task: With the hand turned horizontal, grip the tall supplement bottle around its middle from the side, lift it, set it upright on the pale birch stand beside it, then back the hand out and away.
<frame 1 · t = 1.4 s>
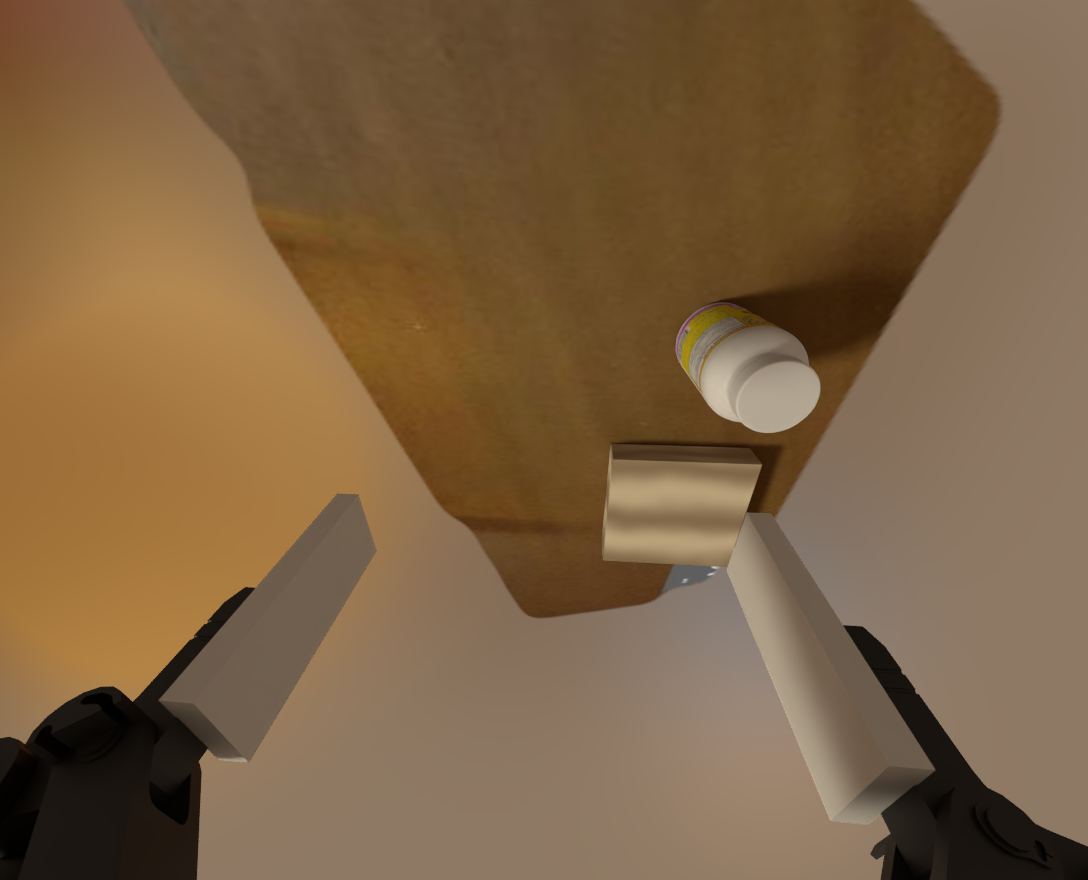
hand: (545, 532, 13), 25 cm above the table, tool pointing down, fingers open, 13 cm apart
supplement bottle: (711, 338, 34), on the table
birch stand: (668, 499, 43), on the table
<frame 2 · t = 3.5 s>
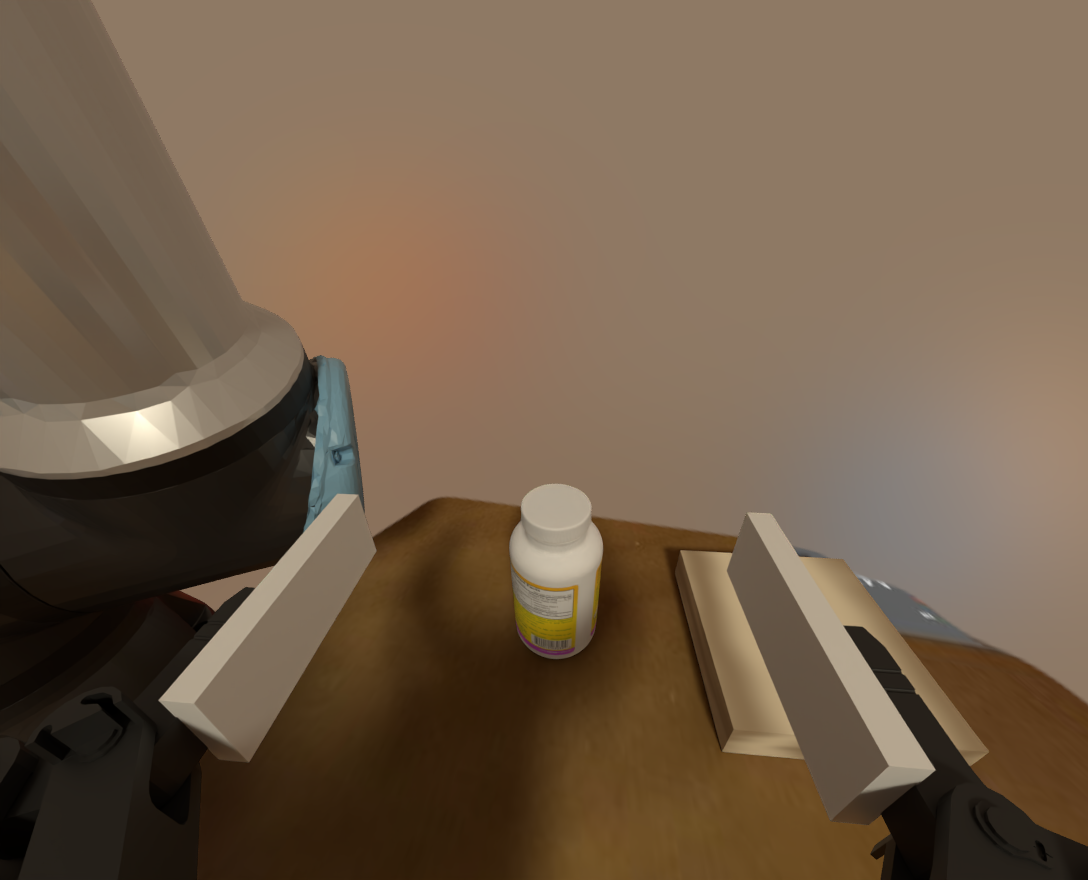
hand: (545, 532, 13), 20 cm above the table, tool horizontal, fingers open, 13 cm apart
supplement bottle: (555, 624, 32), on the table
birch stand: (786, 651, 30), on the table
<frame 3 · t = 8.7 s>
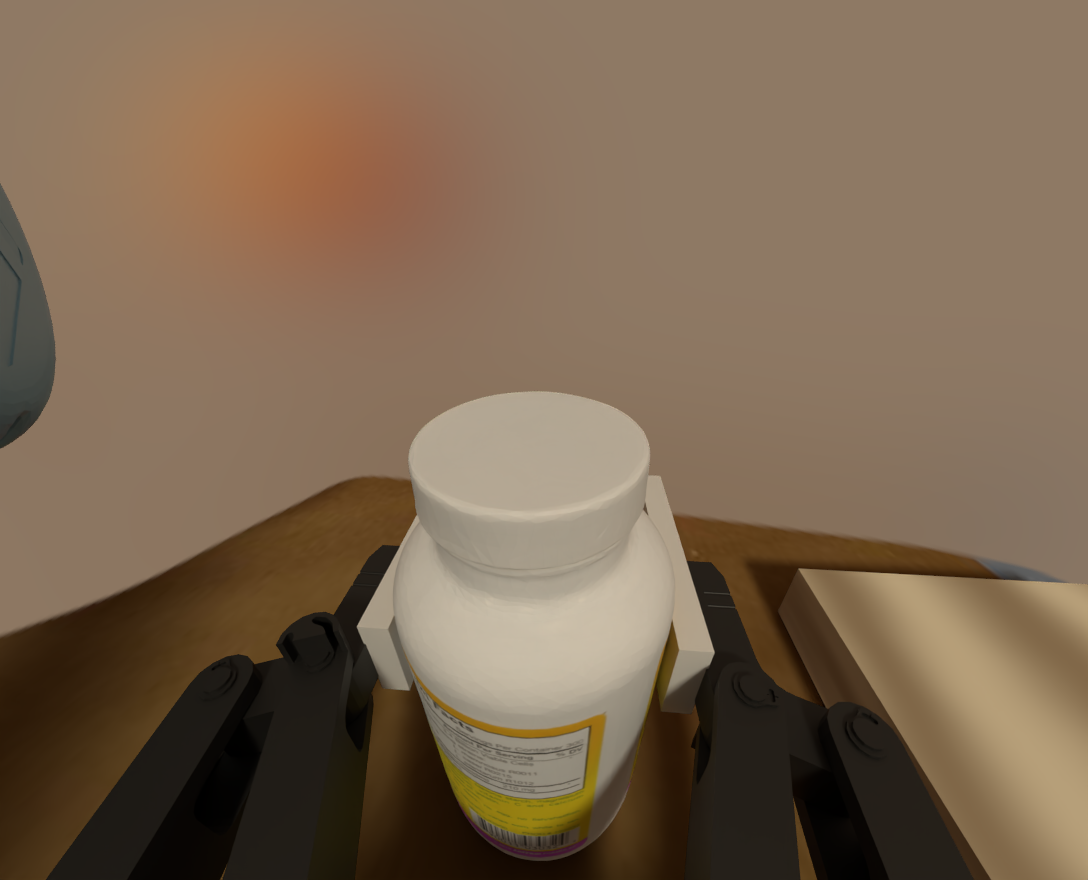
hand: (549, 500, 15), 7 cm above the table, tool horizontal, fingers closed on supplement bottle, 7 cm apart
supplement bottle: (540, 739, 14), on the table, touching gripper
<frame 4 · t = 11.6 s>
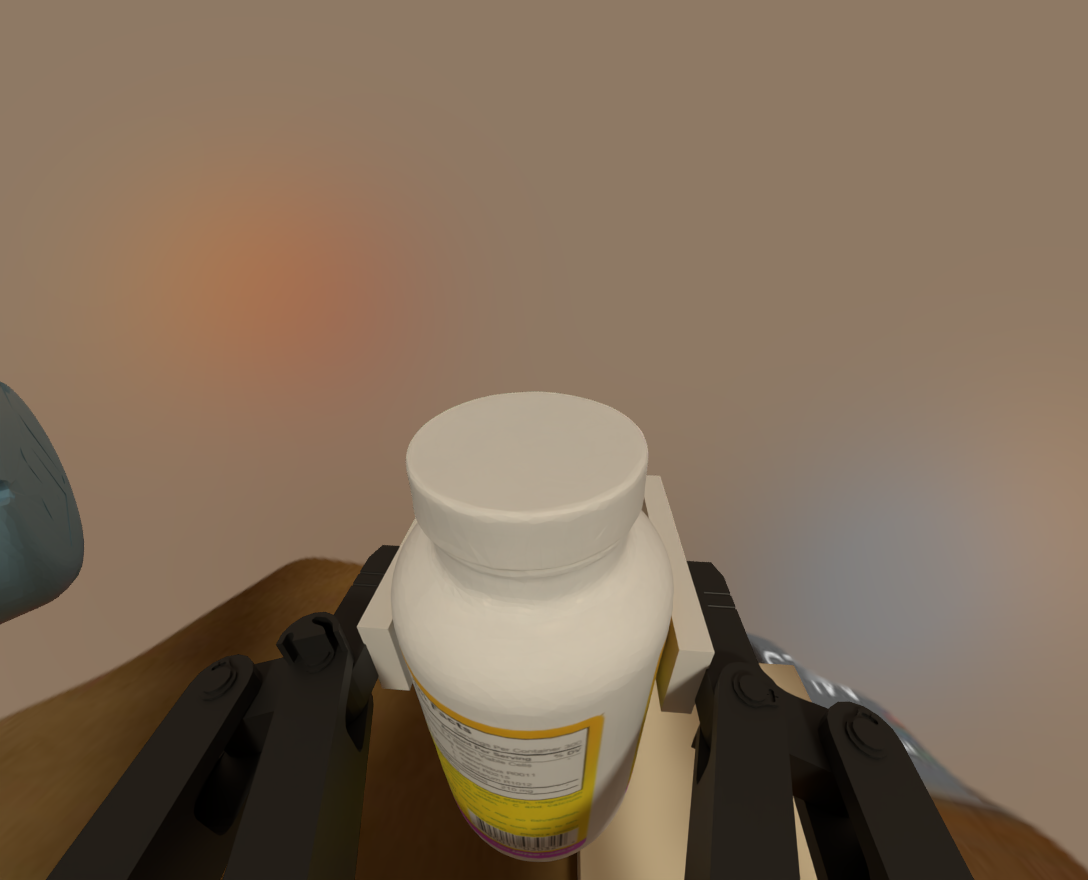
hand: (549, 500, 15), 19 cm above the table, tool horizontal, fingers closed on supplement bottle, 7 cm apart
supplement bottle: (539, 740, 14), point 11 cm above the table, touching gripper
birch stand: (706, 819, 21), on the table
when the fingers open (11 cm above the table, at t = 14.6 s): supplement bottle drops 1 cm, resting on birch stand.
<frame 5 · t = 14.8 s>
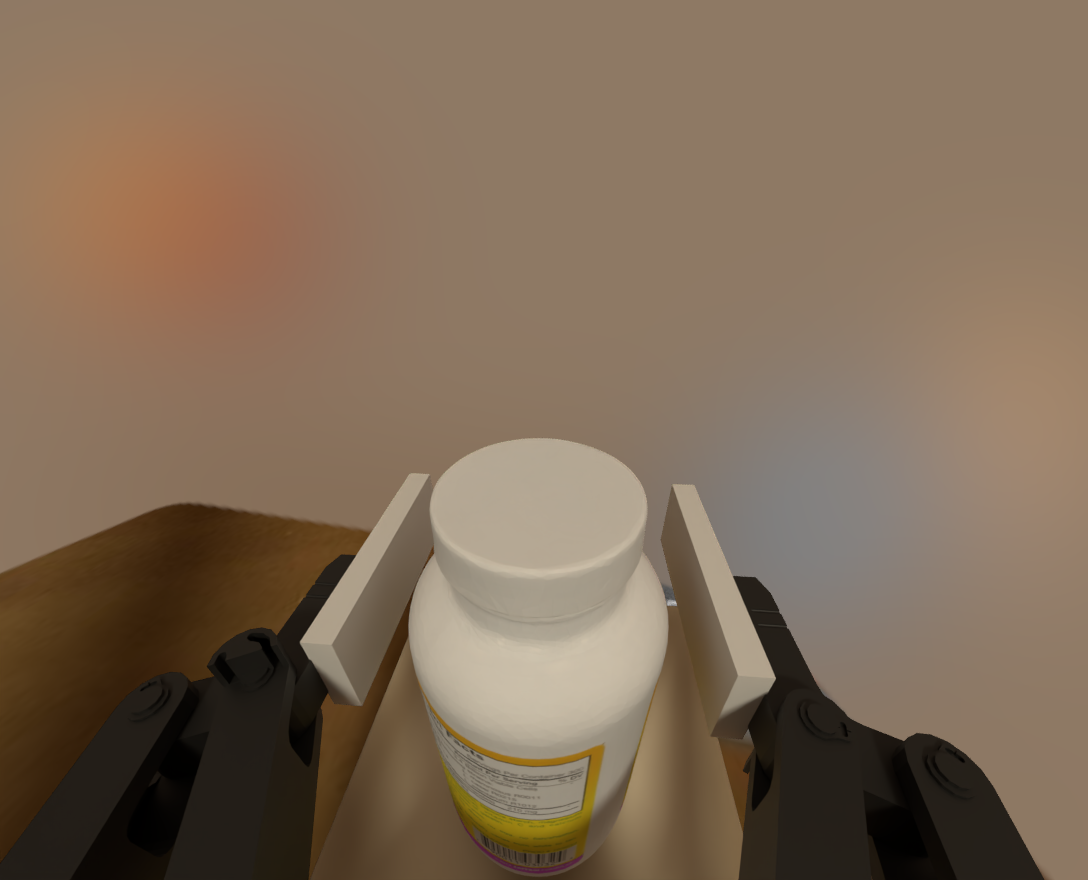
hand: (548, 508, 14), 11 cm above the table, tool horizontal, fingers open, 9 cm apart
supplement bottle: (537, 757, 15), point 3 cm above the table, touching birch stand
birch stand: (541, 785, 16), on the table
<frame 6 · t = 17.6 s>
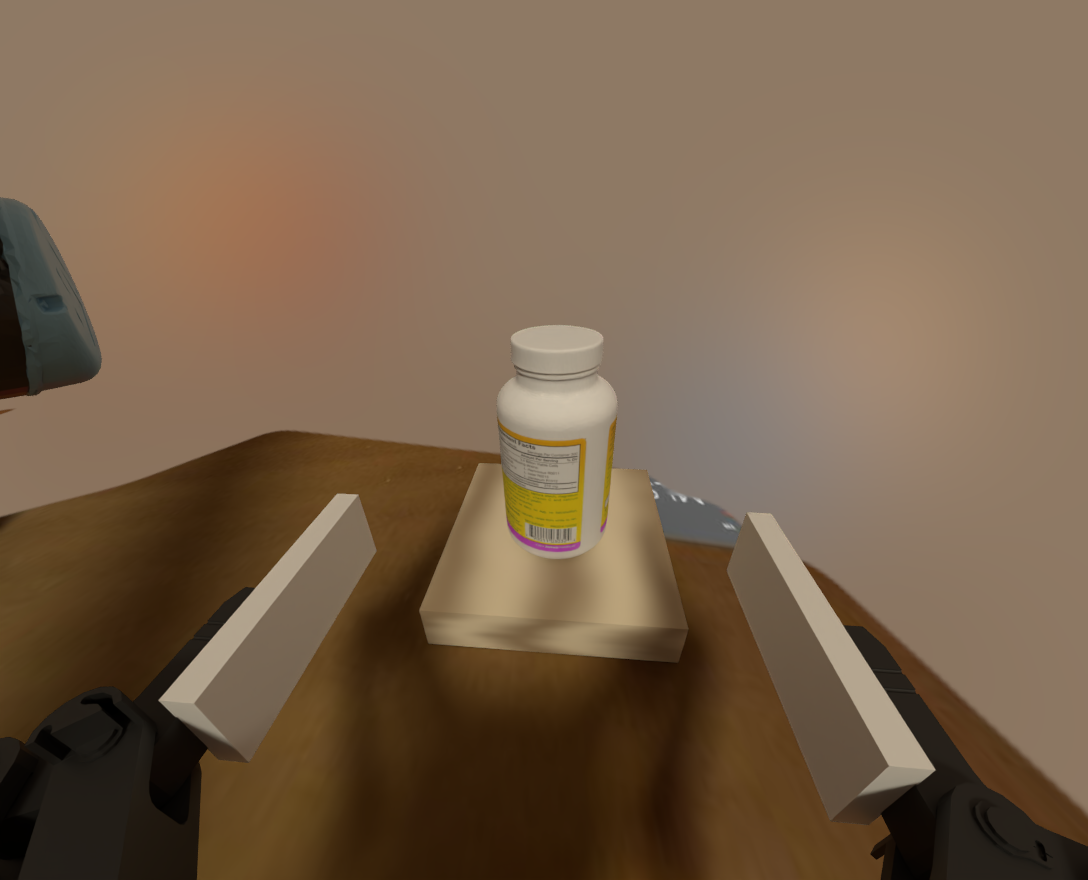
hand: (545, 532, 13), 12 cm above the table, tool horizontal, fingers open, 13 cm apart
supplement bottle: (555, 528, 26), point 3 cm above the table, touching birch stand
birch stand: (556, 556, 27), on the table
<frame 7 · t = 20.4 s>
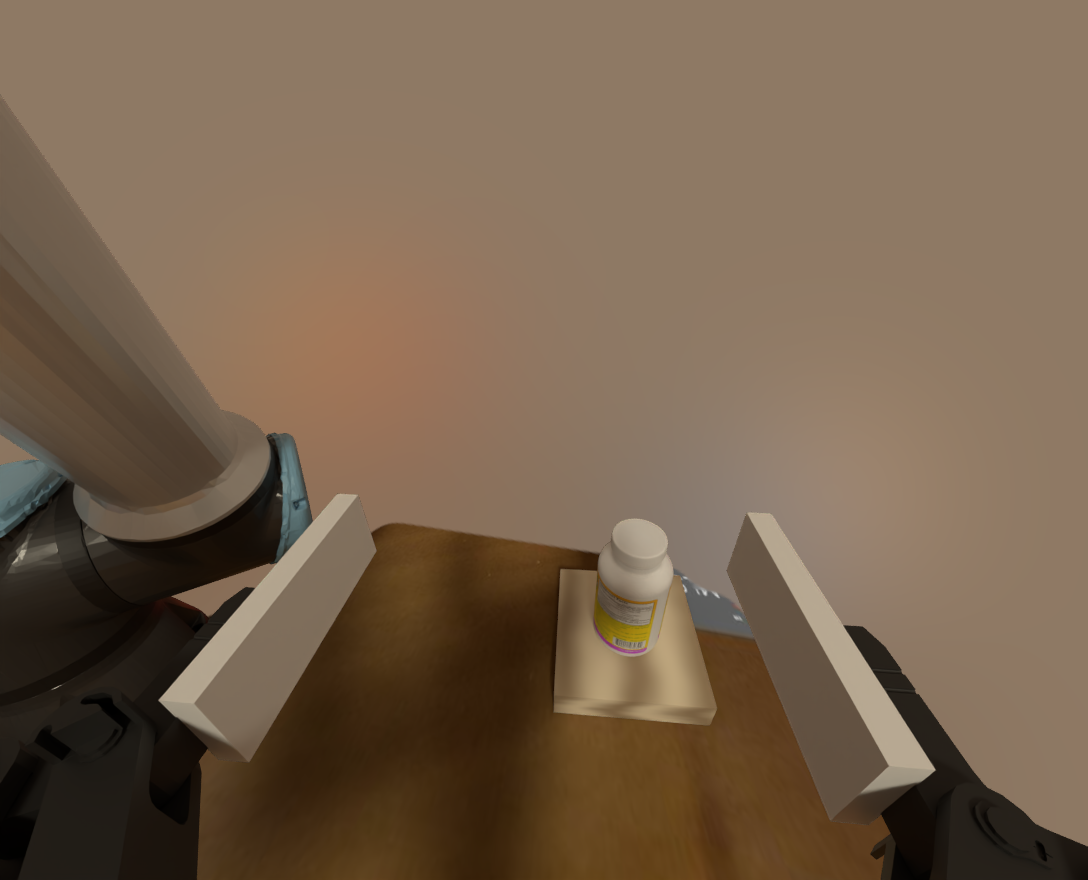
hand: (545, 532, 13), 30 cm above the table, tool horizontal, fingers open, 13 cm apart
supplement bottle: (624, 628, 39), point 3 cm above the table, touching birch stand
birch stand: (622, 644, 41), on the table
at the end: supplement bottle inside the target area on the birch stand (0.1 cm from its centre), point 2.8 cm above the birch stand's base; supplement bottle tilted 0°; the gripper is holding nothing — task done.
